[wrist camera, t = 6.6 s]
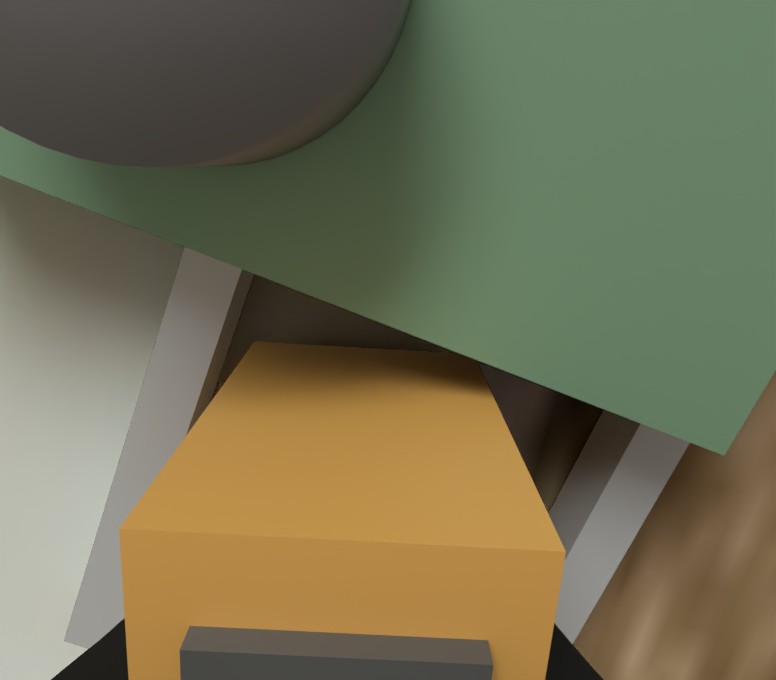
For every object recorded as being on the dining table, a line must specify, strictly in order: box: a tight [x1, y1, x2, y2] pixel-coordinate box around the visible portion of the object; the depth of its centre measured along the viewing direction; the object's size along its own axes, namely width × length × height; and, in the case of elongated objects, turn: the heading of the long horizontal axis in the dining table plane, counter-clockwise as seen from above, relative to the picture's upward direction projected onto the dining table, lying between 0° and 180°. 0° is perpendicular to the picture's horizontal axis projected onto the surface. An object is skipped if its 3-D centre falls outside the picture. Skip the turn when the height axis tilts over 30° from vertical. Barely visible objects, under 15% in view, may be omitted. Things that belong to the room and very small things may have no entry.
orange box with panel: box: [119, 341, 566, 680], centre depth 9 cm, size 4×8×6 cm, turn 176°
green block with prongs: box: [0, 0, 776, 649], centre depth 9 cm, size 15×16×6 cm
